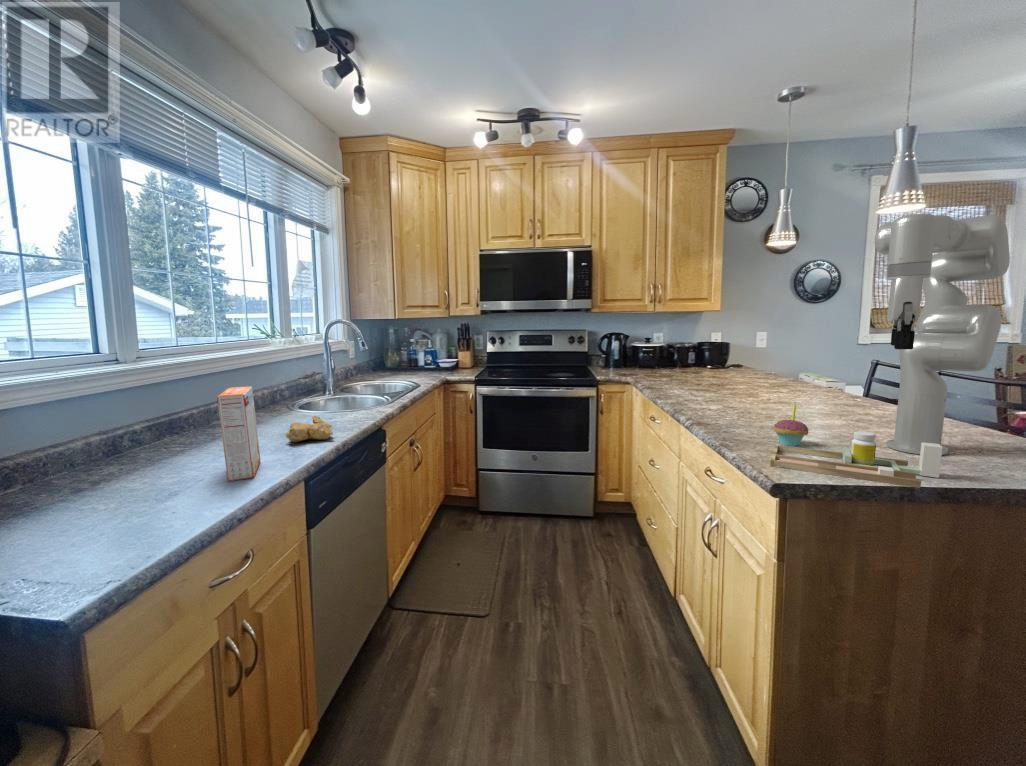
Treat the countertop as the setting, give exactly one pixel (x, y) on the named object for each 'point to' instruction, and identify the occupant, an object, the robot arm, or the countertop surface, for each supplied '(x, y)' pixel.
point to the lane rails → (830, 467)
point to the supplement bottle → (863, 448)
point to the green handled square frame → (927, 466)
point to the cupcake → (790, 430)
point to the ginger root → (309, 430)
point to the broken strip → (849, 468)
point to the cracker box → (239, 432)
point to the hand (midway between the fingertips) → (901, 347)
